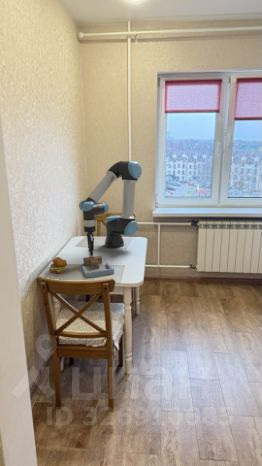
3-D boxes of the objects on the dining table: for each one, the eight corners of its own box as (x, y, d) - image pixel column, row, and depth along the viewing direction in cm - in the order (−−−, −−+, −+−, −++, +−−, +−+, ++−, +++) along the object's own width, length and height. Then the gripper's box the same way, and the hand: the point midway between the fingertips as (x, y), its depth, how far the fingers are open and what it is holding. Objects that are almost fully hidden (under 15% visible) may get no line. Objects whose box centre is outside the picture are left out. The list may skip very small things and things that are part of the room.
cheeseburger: (49, 268, 210) (52, 254, 208) (66, 271, 212) (68, 257, 209) (47, 274, 200) (49, 259, 198) (64, 277, 202) (67, 262, 200)
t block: (100, 261, 220) (100, 255, 219) (104, 267, 210) (104, 261, 208) (83, 263, 217) (83, 257, 216) (86, 269, 206) (86, 264, 205)
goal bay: (108, 264, 213) (107, 260, 213) (114, 273, 200) (113, 268, 199) (81, 268, 208) (81, 264, 207) (86, 277, 194) (86, 273, 194)
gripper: (82, 223, 217) (84, 256, 224) (85, 228, 205) (87, 263, 212) (93, 222, 219) (95, 255, 226) (97, 227, 207) (99, 261, 214)
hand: (91, 259), depth 219 cm, fingers closed
